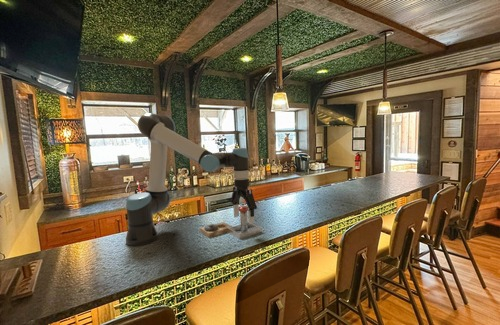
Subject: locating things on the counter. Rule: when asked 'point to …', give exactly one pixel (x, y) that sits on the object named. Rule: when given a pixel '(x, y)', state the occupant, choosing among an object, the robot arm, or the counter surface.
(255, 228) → the tray
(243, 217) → the lock pin
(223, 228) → the tensioner block
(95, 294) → the counter surface
